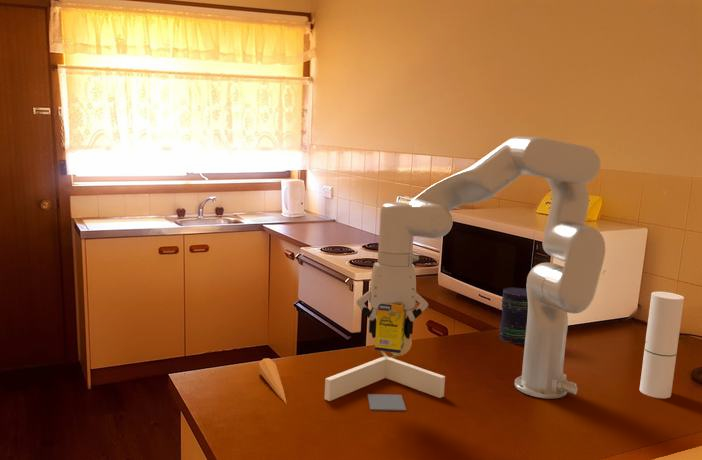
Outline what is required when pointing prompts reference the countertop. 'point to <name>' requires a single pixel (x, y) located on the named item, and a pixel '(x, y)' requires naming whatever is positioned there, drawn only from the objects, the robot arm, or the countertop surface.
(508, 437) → the countertop surface
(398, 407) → the mat
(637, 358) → the countertop surface
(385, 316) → the supplement box
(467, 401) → the countertop surface
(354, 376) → the white angled corner barrier
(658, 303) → the cylindrical container
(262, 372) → the carrot
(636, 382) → the countertop surface
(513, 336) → the storage jar
